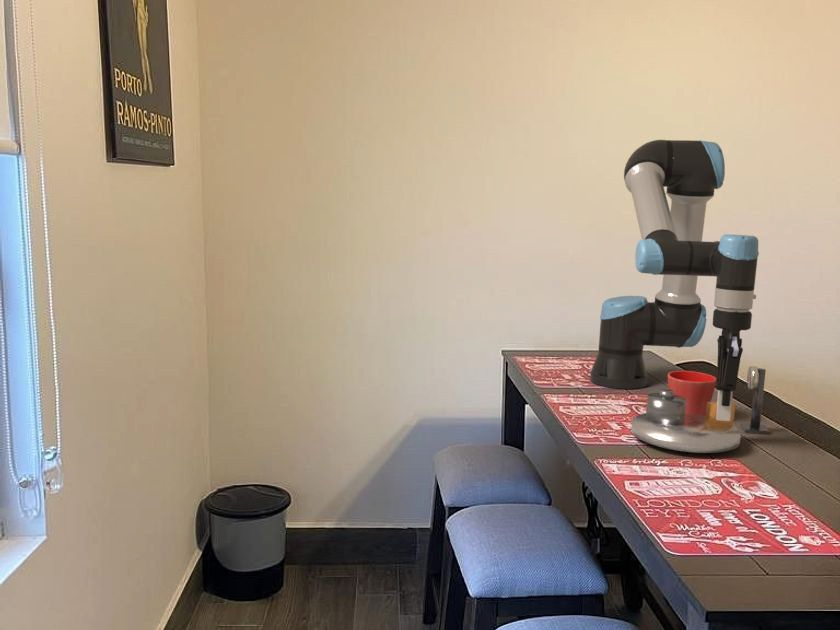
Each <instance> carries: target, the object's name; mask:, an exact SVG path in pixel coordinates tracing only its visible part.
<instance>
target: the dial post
mask: <svg viewBox="0 0 840 630" xmlns="http://www.w3.org/2000/svg"><path fill="white" fill-rule="evenodd" d="M766 373H767V372H766V368H762V367H761V368H758V367H757V366H755V365H754V366H749V368H748V370H747V376H746V377H747V379H746V380H747V381H746V382H747V383H746V384H747V388H748V389H749V390H753V392H752V393H753V395H752V405H751V413H750V414H751V416H750V422H749V423H748V422H747V423H745V422H740V428H741V429H742V430H743V432H744V433H745V434H756V435H768V436H769V435H770V430H769V429H768V428H767V426H766V425H765V424H761V420H762V411H763V402H764V401H763V400H764V391H765V380H766Z"/></svg>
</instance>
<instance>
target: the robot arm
mask: <svg viewBox="0 0 840 630" xmlns="http://www.w3.org/2000/svg"><path fill="white" fill-rule="evenodd" d="M725 165H726V164H725V157H724V154H723V150H722V148H721V146H720V145H719V144H718V143H717V142H714V141H706V140H702V139H701V140H690V139H689V140H687V139H686V140H685V139H684V140H682V139H681V140H679V139H678V140H676V139H675V140H673V139H672V140H671V139H668V140H667V139H654V140H651V141H648V142H646V143H644V144H642V145H641V146H639V147H638V148H637V149H636V150H634V151H633V152H632V154H631V155H630V156H629V158H628V159H627V162H626V164H625V167H624V171H623V179H624V184H625V188H626V189H627V190H628V192H630V193H631V197H632V201H633V206H634V209H635V214H636V219H637V223H638V227H639V232H640V237H641V239H640V240H638V242H637V244H636V248H635V254H634V255H635V257H634V259H635V269H636V270H637V271H638V272H639V273H640V274H648V275H649V274H651V275H653V276H655V275H656V276H658V275H662V276H663V277H662V286H661V290H660V291H658V292H656V294H655V295H654V301H652V302H650V301H648V299H647V297H646V296H643V295H623V296H622V295H621V296H615V297H610V298H607V299H606V300H604V301H603V303H602V305H601V309H600V310H601V312H600V316H599V318H600V325H599V326H600V327H599V340H598V352H597V355H596V357H595V360H594V362H593V365H592V368H591V370H590V374H589V380H590V382H591V383H593V384H595V385H597V386H602V387H607V388H612V389H620V390H621V389H622V390H623V389H625V390H626V389H627V390H628V389H629V390H630V389H633V390H634V389H635V390H636V389H641V388H645V387H647V385H648V373H647V369H646V365H645V361H644V358H643V356H644V353H643V352H644V346H649V347H650V346H651V347H670V348H671V347H672V348H673V347H676V348H679V349H680V348H684V347H685V348H691V347H695V346H697V345H698V344H699V343H700V342H701V340H702V338H703V335H704V333H705V330H706V325H707V324H706V323H707V309H706V306H705V305H704V304H702V303H701V300H702V299H701V298H700V296H699V295H698V294H697V282H698V277H716V282H715V287H714V298H713V299H714V301H713V306H714V307H716V308H715V309H714V310H713V312H712V326H713V327H714V328H716V329H721V334H720V335H718V338H717V340H716V341H717V367H716V370H717V371H716V379H717V380H716V381H717V382H716V384H717V386H716V391H717V401H716V402H717V410H716V420H722V421H730V416H731V405H732V401H733V392H734V391H736V389H737V383H738V375H739V370H740V363H741V357H742V354H743V351H744V348H743V347H742V345H743V339H742V338H741V333H740V332H741V331H748V330H750V329H751V327H752V317H753V314H752V312H751V310H752V309H753V304H754V300H755V299H757V294H754V293H755V286H756V276H757V275H756V274H757V268H758V267H757V266H758V257H759V253H760V252H759V239H758V237H756V236H755V235H748V234H747V235H746V234H723V235H722V236H721V237H720V239H719V240H720V241H719V240H716V241H715V240H714V241H703V236H704V235H703V234H704V227H705V226H704V225H705V218H706V211H707V210H706V209H707V204H708V202H709V201H710V200H711V199H712V198H714V196H715V190H718V189H721V188H722V187H723V184H724V180H725V175H726V172H725V171H726V166H725ZM664 187H666V192H665V188H664ZM667 197H668V198H670V200H671V204H670V206H669V202H668V198H667Z"/></svg>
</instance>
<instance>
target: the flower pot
mask: <svg viewBox="0 0 840 630" xmlns="http://www.w3.org/2000/svg"><path fill="white" fill-rule="evenodd" d="M716 380H717V377H715V376H714V375H710V374H709V373H703V372H699V371H692V370H674V371H670V372H668V373H667V384H668V389H669V390H673V391H674V394H675V395H679V396H682V397H684V398H685V399H686V407H685V413H690V414H697V415H703V416H706V409H707V402H712V398H713V396H714V393H715V389H716V387H717V381H716Z"/></svg>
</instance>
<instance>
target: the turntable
mask: <svg viewBox="0 0 840 630" xmlns="http://www.w3.org/2000/svg"><path fill="white" fill-rule="evenodd" d="M735 409H736V402H735V401H733V400H732V405H731V416H730V421H722V420H716V410H717V401H711V402H707V409H706V416H703V415H697V414H690V413H685V418H684V423H683V424H681V425H673V426H671V425H661V424H656V423H652V422H650V421H648V420H647V419H646V412H645V413H641V414H637V415H636V416H634V417H633V418H632V420H631V429H630V430H631V431H630V432H631V433H632V435H633V436H635V438H637V439H638V440H641V441H642V442H645V443H647V444H650V445H653V446H656V447H659V448H663V449H668V450H672V451H673V450H674V451H680V452H684V453H685V452H686V453H687V452H688V453H698V454H701V453H702V454H706V453H707V454H709V453H711V454H713V453H714V454H716V453H723V452H729V451H732V450H735V449H737V448H738V447H739V446H740V445H741V437H742V435H741V434H742V432H741V430H740V429H739V428H737V426H735V425H734V421H735V411H736V410H735Z"/></svg>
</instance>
